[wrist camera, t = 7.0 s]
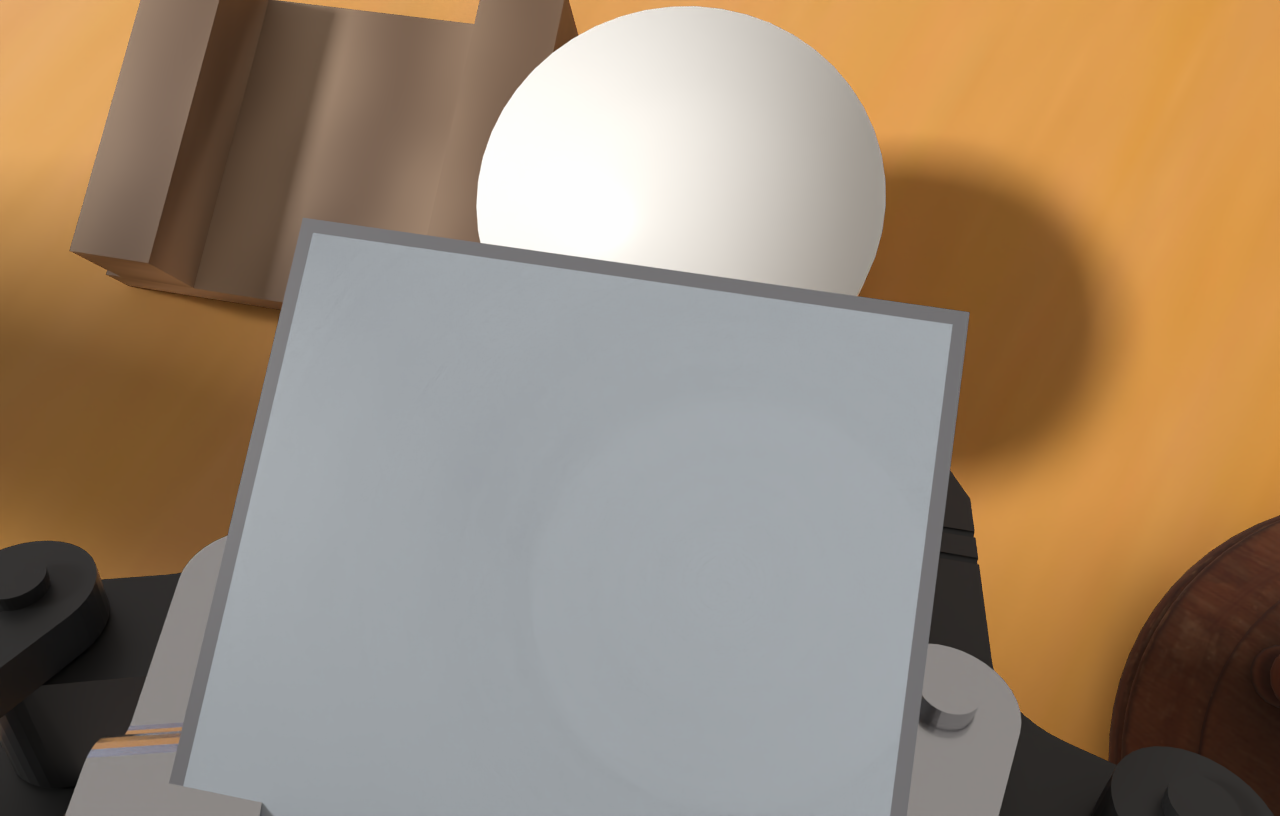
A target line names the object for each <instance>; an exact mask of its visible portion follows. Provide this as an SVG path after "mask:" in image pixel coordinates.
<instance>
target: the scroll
mask: <svg viewBox="0 0 1280 816" xmlns="http://www.w3.org/2000/svg"><path fill="white" fill-rule="evenodd" d="M1153 746H1162V747H1173V748H1179V749H1183V750H1187V751H1190V752H1194V753H1197V754H1199V755H1201V756H1204V757H1206V758H1208V759H1211V760H1212V761H1214V762H1216V763H1218V764H1220V765H1222V766H1223V767H1225V768H1226V769H1228V770H1229V771H1231V772H1232V773H1234V774H1235V775H1237V776H1238V777H1239V778H1240V779H1242V780H1243V781H1244V782H1245V783H1246V784H1247V785H1249V786H1250V787H1251V788H1252V789H1253V790H1254V791H1255V792H1256V793H1257V794H1258V795H1259V796H1260V798H1261V799H1262V800H1263V801H1264V803H1265V804H1266V805H1267V806H1268V808H1269V809H1270V810H1271V812H1272V813H1273V815H1274V816H1280V515H1279V516H1277V517H1274V518H1272V519H1269V520H1267V521H1264V522H1262V523H1259V524H1257V525H1255V526H1253V527H1251V528H1249V529H1247V530H1245V531H1243V532H1241V533H1239V534H1237V535H1235V536H1233V537H1232V538H1230V539H1229V540H1227V541H1226V542H1224V543H1223V544H1221V545H1219V546H1218V547H1216V548H1215V549H1213V550H1212V551H1210V552H1209V553H1208V554H1207V555H1205V556H1204V557H1203V558H1202V559H1201V560H1199V561H1198V562H1197V563H1196V564H1195V565H1193V566H1192V567H1191V568H1190V569H1189V570H1188V571H1187V572H1186V573H1185V574H1184V575H1183V576H1182V577H1181V578H1180V579H1179V580H1178V581H1177V582H1176V583H1175V584H1174V585H1173V586H1172V587H1171V588H1170V590H1169V591H1168V592H1167V593H1166V595H1165V596H1164V597H1163V598H1162V600H1161V601H1160V602H1159V604H1158V605H1157V606H1156V607H1155V609H1154V610H1153V612H1152V614H1151V615H1150V617H1149V618H1148V620H1147V622H1146V623H1145V625H1144V626H1143V628H1142V630H1141V631H1140V633H1139V635H1138V637H1137V640H1136V642H1135V644H1134V646H1133V648H1132V650H1131V652H1130V654H1129V657H1128V659H1127V662H1126V665H1125V668H1124V670H1123V673H1122V676H1121V679H1120V682H1119V686H1118V690H1117V694H1116V698H1115V702H1114V707H1113V713H1112V721H1111V728H1110V737H1109V762H1111V763H1113V764H1115V765H1117V764H1118V763H1119V762H1120V761H1121V760H1122V759H1123V758H1124V757H1125V756H1127V755H1128V754H1130V753H1131V752H1133V751H1136V750H1139V749H1142V748H1146V747H1153Z"/></svg>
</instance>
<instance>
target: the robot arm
mask: <svg viewBox="0 0 1280 816" xmlns="http://www.w3.org/2000/svg"><path fill="white" fill-rule="evenodd" d="M227 536H228V535H227ZM227 536H225V537H223V538H221V539H218V540H216V541H214V542H213V543H211V544H209V545H208V546H206V547H205V548H203V549H202V550H201V551H199V552H198V553H197V554H196V555H195V556H194V557H193V558H192V559H191V560H190V561H189V562H188V564H187V565H186V566H185V568H184V569H183V571H182V573H177V574H169V575H157V576H144V577H130V578H117V579H104V580H101V578H100V575H99V573H98V570H97V567H96V564H95V562H94V560H93V558H92V557H91V556H90V555H89V554H88V553H87V552H86V551H85V550H83V549H81V548H80V547H78V546H75V545H72V544H69V543H64V542H59V541H35V542H29V543H23V544H18V545H15V546H11V547H7V548H5V549H2V550H0V816H262V802H257V801H252V800H247V799H243V798H238V797H233V796H228V795H223V794H218V793H213V792H209V791H204V790H199V789H194V788H189V787H184V786H180V785H175V784H170V783H169V781H170V777H171V773H172V768H173V764H174V760H175V756H176V752H177V747H178V743H179V739H180V735H181V730H182V726H183V722H184V718H185V714H186V709H187V705H188V701H189V697H190V692H191V688H192V684H193V680H194V675H195V671H196V667H197V663H198V659H199V654H200V650H201V646H202V642H203V637H204V633H205V629H206V625H207V621H208V616H209V612H210V608H211V604H212V599H213V595H214V591H215V587H216V583H217V578H218V574H219V570H220V566H221V561H222V557H223V553H224V549H225V545H226V540H227ZM977 560H978V554H977V547H976V539H975V538H974V524H973V517H972V509H971V502H970V498H969V497H968V495H967V494H966V492H965V491H964V490H963V488H962V487H961V485H960V484H959V482H958V481H957V480H956V478H955V477H954V475H953V474H952V472H951V471H950V474H949V482H948V490H947V498H946V506H945V514H944V522H943V530H942V538H941V546H940V554H939V562H938V570H937V578H936V586H935V594H934V602H933V610H932V618H931V626H930V634H929V642H928V650H927V658H926V666H925V674H924V682H923V690H922V698H921V706H920V714H919V722H918V730H917V738H916V746H915V754H914V762H913V770H912V778H911V786H910V794H909V802H908V810H907V816H1274V815H1273V813H1272V812H1271V810H1270V809H1269V808H1268V806H1267V805H1266V804H1265V803H1264V801H1263V800H1262V799H1261V798H1260V796H1259V795H1258V794H1257V793H1256V792H1255V791H1254V790H1253V789H1252V788H1251V787H1250V786H1249V785H1247V784H1246V783H1245V782H1244V781H1243V780H1242V779H1240V778H1239V777H1238V776H1237V775H1235V774H1234V773H1232V772H1231V771H1229V770H1228V769H1226V768H1225V767H1223V766H1222V765H1220V764H1218V763H1216V762H1214V761H1212V760H1211V759H1208V758H1206V757H1204V756H1201V755H1199V754H1197V753H1194V752H1190V751H1187V750H1183V749H1179V748H1173V747H1162V746H1153V747H1146V748H1142V749H1139V750H1136V751H1133V752H1131V753H1130V754H1128V755H1127V756H1125V757H1124V758H1123V759H1122V760H1121V761H1120V762H1119V763H1118V764H1117V765H1115V764H1113V763H1111V762H1108V761H1106V760H1104V759H1102V758H1100V757H1097V756H1095V755H1093V754H1091V753H1089V752H1086V751H1084V750H1082V749H1080V748H1078V747H1075V746H1073V745H1071V744H1069V743H1067V742H1064V741H1062V740H1061V739H1059V738H1057V737H1055V736H1053V735H1051V734H1049V733H1048V732H1046V731H1044V730H1043V729H1041V728H1040V727H1038V726H1037V725H1036V724H1034V723H1033V722H1032V721H1031V720H1029V719H1028V718H1027V717H1026V716H1024V715H1023V714H1022V713H1021V712H1020V709H1019V706H1018V703H1017V700H1016V698H1015V696H1014V694H1013V693H1012V691H1011V689H1010V688H1009V687H1008V685H1007V684H1006V682H1005V681H1004V680H1003V679H1002V678H1001V677H1000V676H999V675H998V674H997V673H996V672H995V671H994V669H993V665H992V659H991V652H990V644H989V637H988V629H987V622H986V614H985V607H984V599H983V592H982V584H981V577H980V569H979V565H978V564H977Z"/></svg>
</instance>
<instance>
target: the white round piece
mask: <svg viewBox="0 0 1280 816" xmlns="http://www.w3.org/2000/svg"><path fill="white" fill-rule="evenodd" d="M885 207H886V188H885V174H884V167H883V161H882V155H881V151H880V148H879V144H878V141H877V138H876V134H875V131H874V129H873V126H872V124H871V122H870V120H869V118H868V115H867V113H866V111H865V109H864V107H863V105H862V104H861V102H860V101H859V99H858V97H857V96H856V94H855V93H854V91H853V90H852V88H851V86H850V85H849V84H848V83H847V82H846V80H845V79H844V78H843V77H842V76H841V75H840V73H839V72H838V71H837V70H836V69H835V67H834V66H833V65H831V64H830V63H829V62H828V61H827V60H826V59H825V58H824V57H823V56H821V55H820V54H819V53H818V52H817V51H816V50H815V49H813V48H812V47H810V46H809V45H808V44H806V43H805V42H803V41H802V40H800V39H799V38H797V37H796V36H794V35H793V34H791V33H789V32H787V31H785V30H783V29H781V28H779V27H777V26H775V25H773V24H771V23H769V22H766V21H763V20H760V19H758V18H755V17H752V16H749V15H746V14H742V13H737V12H733V11H729V10H724V9H717V8H708V7H698V6H687V7H665V8H658V9H651V10H644V11H640V12H636V13H633V14H629V15H625V16H621V17H618V18H616V19H613V20H611V21H608V22H605V23H603V24H600V25H598V26H595V27H594V28H592V29H590V30H588V31H586V32H584V33H582V34H580V35H579V36H577V37H575V38H573V39H572V40H570V41H569V42H567V43H566V44H565V45H563V46H562V47H560V48H559V49H557V50H556V51H555V52H553V53H552V54H551V55H550V56H548V57H547V58H546V59H545V60H544V61H543V62H542V63H541V64H540V65H539V66H537V67H536V68H535V69H534V70H533V71H532V72H531V73H530V75H529V76H528V77H527V78H526V79H525V80H524V81H523V83H522V84H521V85H520V86H519V87H518V88H517V90H516V91H515V93H514V94H513V96H512V97H511V99H510V100H509V102H508V103H507V104H506V106H505V107H504V109H503V110H502V112H501V114H500V116H499V118H498V121H497V123H496V125H495V127H494V129H493V131H492V133H491V135H490V138H489V141H488V144H487V147H486V150H485V153H484V155H483V159H482V164H481V169H480V174H479V179H478V190H477V204H476V208H477V222H478V233H479V238H480V243H485V244H492V245H499V246H506V247H513V248H520V249H527V250H534V251H541V252H548V253H556V254H563V255H570V256H577V257H584V258H591V259H598V260H605V261H612V262H619V263H626V264H633V265H640V266H647V267H654V268H661V269H668V270H675V271H682V272H689V273H696V274H704V275H711V276H718V277H725V278H732V279H739V280H746V281H753V282H760V283H767V284H774V285H781V286H788V287H795V288H802V289H809V290H816V291H823V292H830V293H837V294H844V295H852V296H858V295H859V293H860V291H861V289H862V286H863V284H864V282H865V280H866V277H867V275H868V273H869V270H870V268H871V266H872V263H873V261H874V259H875V256H876V252H877V249H878V245H879V242H880V238H881V235H882V230H883V222H884V215H885Z"/></svg>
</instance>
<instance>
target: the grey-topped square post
mask: <svg viewBox="0 0 1280 816" xmlns="http://www.w3.org/2000/svg"><path fill="white" fill-rule="evenodd" d="M969 314H970V312H964V311H957V310H950V309H943V308H936V307H929V306H922V305H915V304H908V303H901V302H894V301H887V300H880V299H873V298H866V297H859V296H852V295H844V294H837V293H830V292H823V291H816V290H809V289H802V288H795V287H788V286H781V285H774V284H767V283H760V282H753V281H746V280H739V279H732V278H725V277H718V276H711V275H704V274H696V273H689V272H682V271H675V270H668V269H661V268H654V267H647V266H640V265H633V264H626V263H619V262H612V261H605V260H598V259H591V258H584V257H577V256H570V255H563V254H556V253H548V252H541V251H534V250H527V249H520V248H513V247H506V246H499V245H492V244H485V243H478V242H471V241H464V240H457V239H450V238H443V237H436V236H429V235H422V234H415V233H408V232H400V231H393V230H386V229H379V228H372V227H365V226H358V225H351V224H344V223H337V222H330V221H323V220H316V219H309V218H303V219H302V224H301V228H300V232H299V236H298V240H297V245H296V249H295V253H294V257H293V262H292V266H291V270H290V274H289V278H288V283H287V287H286V291H285V295H284V300H283V304H282V308H281V312H280V316H279V321H278V325H277V329H276V333H275V338H274V342H273V346H272V350H271V354H270V359H269V363H268V367H267V371H266V376H265V380H264V384H263V388H262V392H261V397H260V401H259V405H258V409H257V414H256V418H255V422H254V426H253V430H252V435H251V439H250V443H249V447H248V452H247V456H246V460H245V464H244V469H243V473H242V477H241V481H240V485H239V490H238V494H237V498H236V502H235V507H234V511H233V515H232V519H231V523H230V528H229V532H228V536H227V540H226V545H225V549H224V553H223V557H222V561H221V566H220V570H219V574H218V578H217V583H216V587H215V591H214V595H213V599H212V604H211V608H210V612H209V616H208V621H207V625H206V629H205V633H204V637H203V642H202V646H201V650H200V654H199V659H198V663H197V667H196V671H195V675H194V680H193V684H192V688H191V692H190V697H189V701H188V705H187V709H186V714H185V718H184V722H183V726H182V730H181V735H180V739H179V743H178V747H177V752H176V756H175V760H174V764H173V768H172V773H171V777H170V781H169V783H170V784H175V785H180V786H184V787H189V788H194V789H199V790H204V791H209V792H213V793H218V794H223V795H228V796H233V797H238V798H243V799H247V800H252V801H257V802H262V816H907V810H908V802H909V794H910V786H911V778H912V770H913V762H914V754H915V746H916V738H917V730H918V722H919V714H920V706H921V698H922V690H923V682H924V674H925V666H926V658H927V650H928V642H929V634H930V626H931V618H932V610H933V602H934V594H935V586H936V578H937V570H938V562H939V554H940V546H941V538H942V530H943V522H944V514H945V506H946V498H947V490H948V482H949V474H950V466H951V458H952V450H953V442H954V434H955V426H956V418H957V410H958V402H959V394H960V386H961V378H962V370H963V362H964V354H965V346H966V338H967V330H968V322H969Z"/></svg>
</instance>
